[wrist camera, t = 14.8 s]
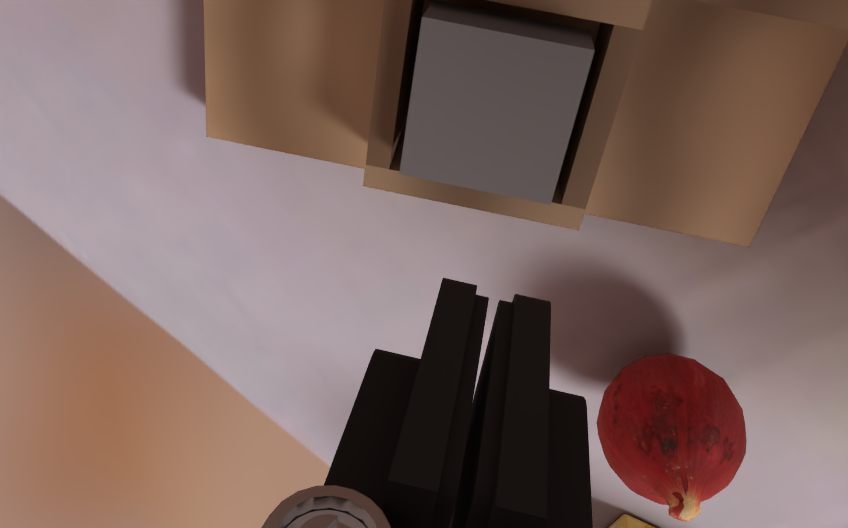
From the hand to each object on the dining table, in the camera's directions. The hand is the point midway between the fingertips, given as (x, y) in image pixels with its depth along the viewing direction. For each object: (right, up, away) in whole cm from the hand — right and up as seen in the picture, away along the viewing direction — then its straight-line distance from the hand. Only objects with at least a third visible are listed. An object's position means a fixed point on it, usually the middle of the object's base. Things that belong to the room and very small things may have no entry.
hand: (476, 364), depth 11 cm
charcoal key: (+1, +7, +11) cm, 13 cm away
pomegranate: (+10, -3, +21) cm, 23 cm away
